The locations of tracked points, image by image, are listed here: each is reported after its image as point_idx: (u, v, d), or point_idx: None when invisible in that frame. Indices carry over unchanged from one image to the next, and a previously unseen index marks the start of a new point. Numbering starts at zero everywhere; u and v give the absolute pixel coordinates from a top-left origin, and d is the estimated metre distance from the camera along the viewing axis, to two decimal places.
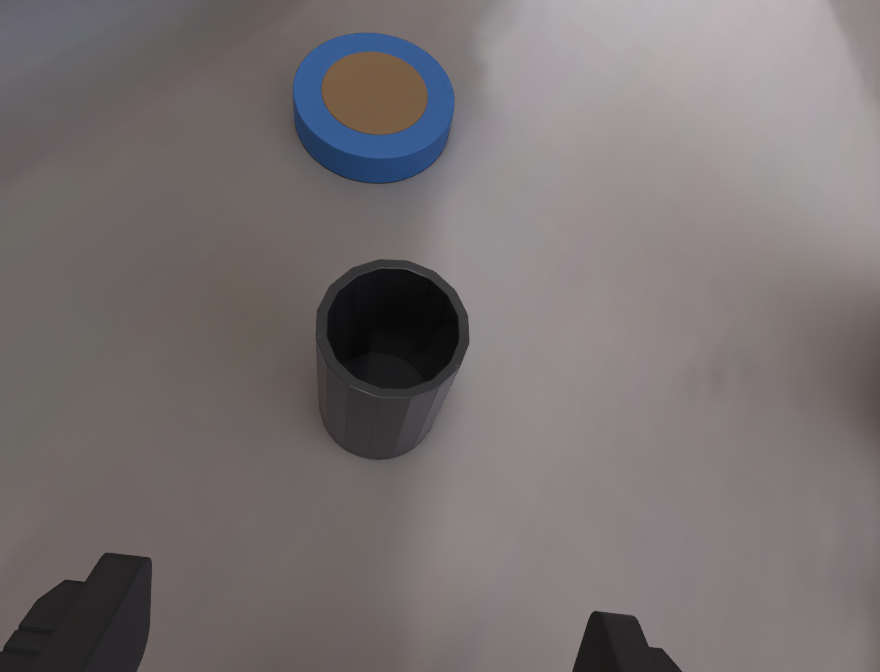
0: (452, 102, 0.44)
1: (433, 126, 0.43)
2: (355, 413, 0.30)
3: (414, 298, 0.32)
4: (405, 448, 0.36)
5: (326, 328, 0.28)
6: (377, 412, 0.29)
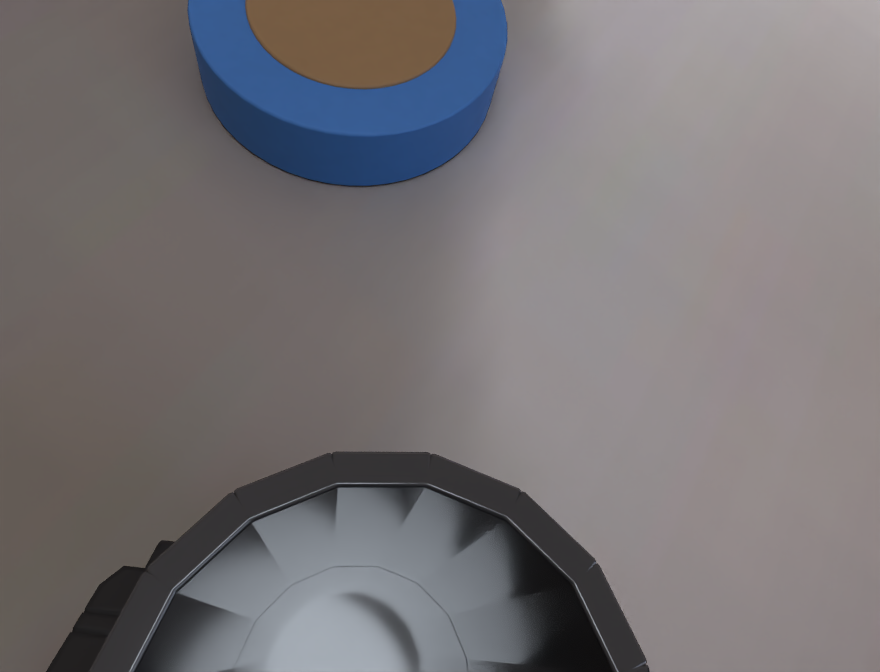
0: (503, 30, 0.23)
1: (468, 74, 0.22)
2: None
3: (445, 533, 0.11)
4: None
5: None
6: None
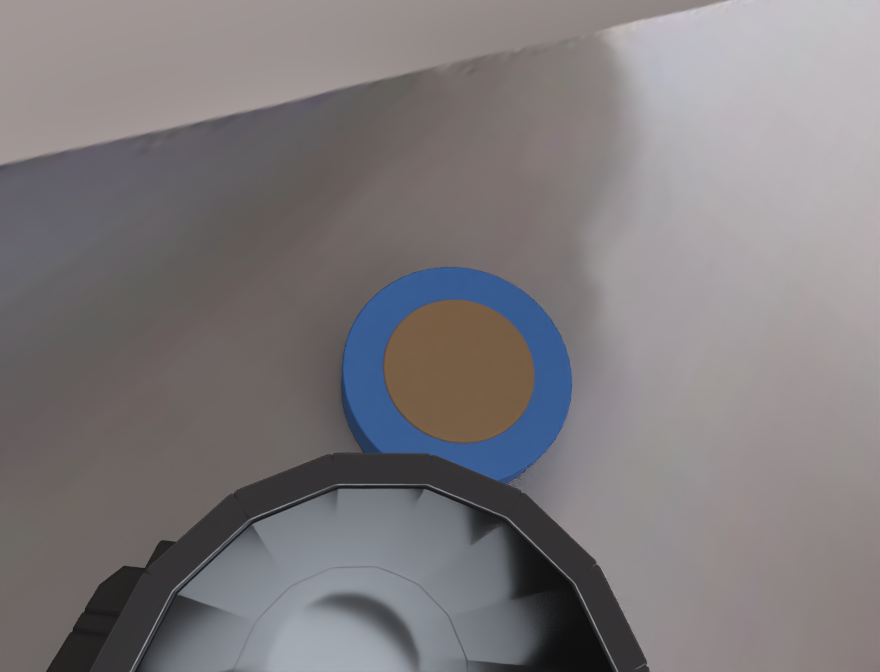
0: (569, 378, 0.30)
1: (545, 422, 0.29)
2: None
3: (446, 534, 0.11)
4: None
5: None
6: None
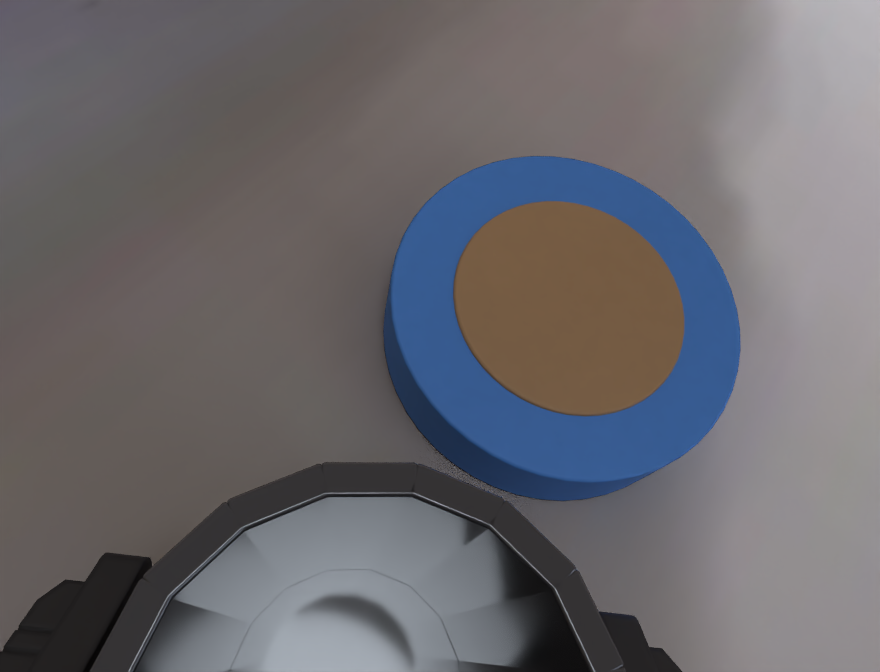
0: (735, 318, 0.20)
1: (707, 383, 0.19)
2: None
3: (434, 539, 0.11)
4: None
5: None
6: None
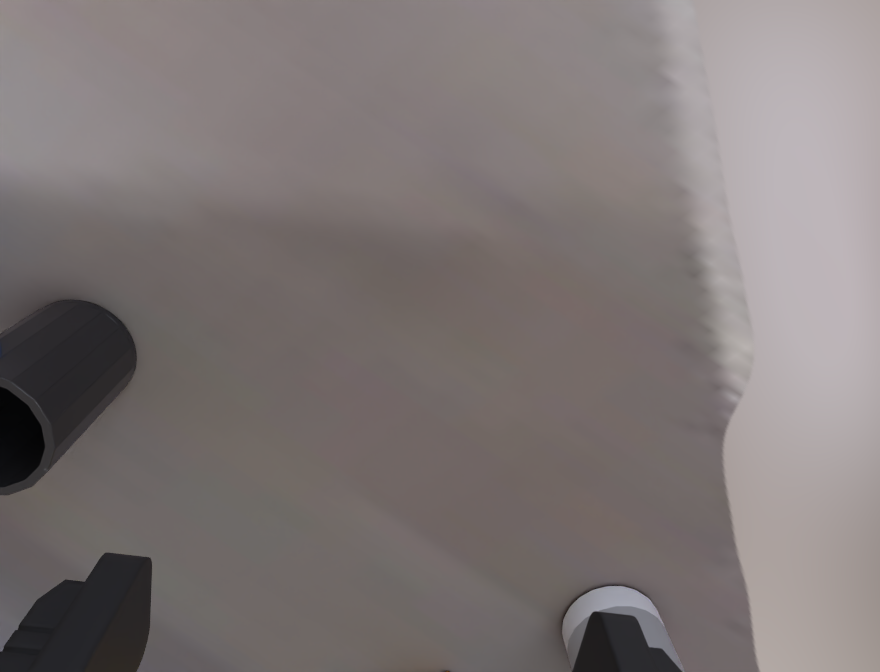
0: None
1: None
2: (80, 432, 0.35)
3: None
4: (120, 339, 0.39)
5: None
6: (73, 427, 0.33)
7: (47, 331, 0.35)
